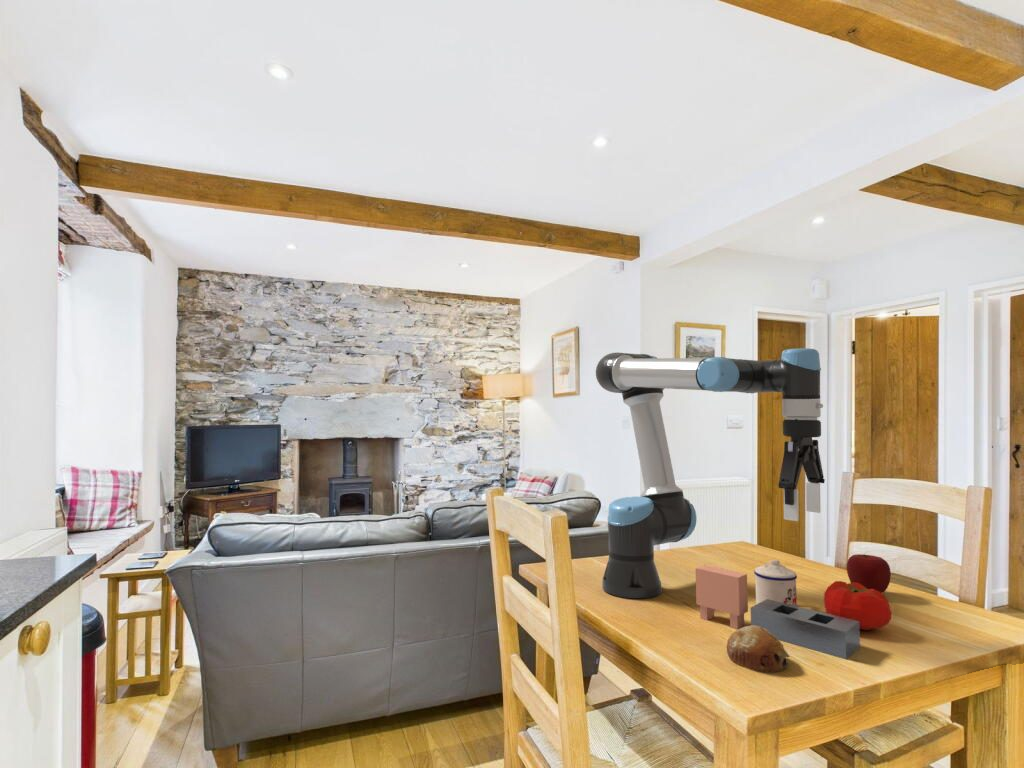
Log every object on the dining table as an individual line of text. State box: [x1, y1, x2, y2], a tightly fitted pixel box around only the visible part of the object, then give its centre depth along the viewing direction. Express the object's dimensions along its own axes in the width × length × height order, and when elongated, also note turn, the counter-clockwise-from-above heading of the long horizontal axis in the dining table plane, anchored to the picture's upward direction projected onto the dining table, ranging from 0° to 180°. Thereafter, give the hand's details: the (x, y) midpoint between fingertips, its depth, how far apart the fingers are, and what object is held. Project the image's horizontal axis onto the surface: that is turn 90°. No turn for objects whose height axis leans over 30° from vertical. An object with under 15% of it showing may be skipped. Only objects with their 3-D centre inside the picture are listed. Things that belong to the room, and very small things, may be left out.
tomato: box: [823, 580, 892, 631], centre depth 120 cm, size 14×13×9 cm
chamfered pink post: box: [695, 564, 749, 630], centre depth 124 cm, size 10×4×11 cm, turn 42°
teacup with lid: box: [753, 558, 798, 606], centre depth 131 cm, size 12×9×12 cm
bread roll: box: [726, 624, 790, 673], centre depth 104 cm, size 10×10×8 cm
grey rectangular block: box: [750, 599, 861, 660], centre depth 114 cm, size 18×8×5 cm, turn 42°
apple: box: [846, 553, 892, 594], centre depth 142 cm, size 10×10×10 cm
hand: (802, 516), depth 122 cm, fingers open, 13 cm apart
